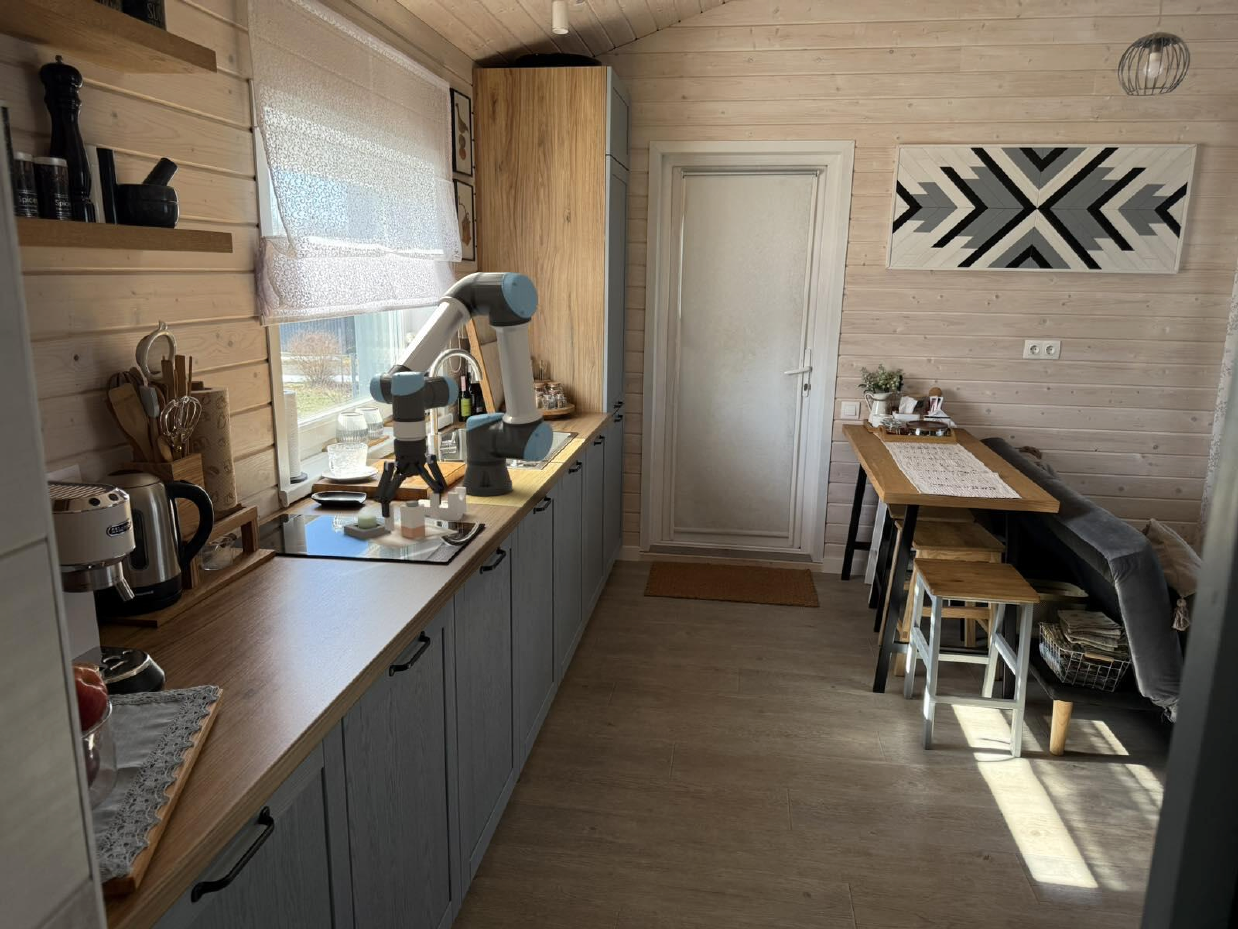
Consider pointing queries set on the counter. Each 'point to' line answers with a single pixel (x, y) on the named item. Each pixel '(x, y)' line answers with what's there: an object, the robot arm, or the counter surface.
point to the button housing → (365, 531)
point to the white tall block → (412, 519)
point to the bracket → (449, 505)
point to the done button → (367, 521)
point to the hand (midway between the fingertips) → (412, 524)
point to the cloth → (398, 541)
